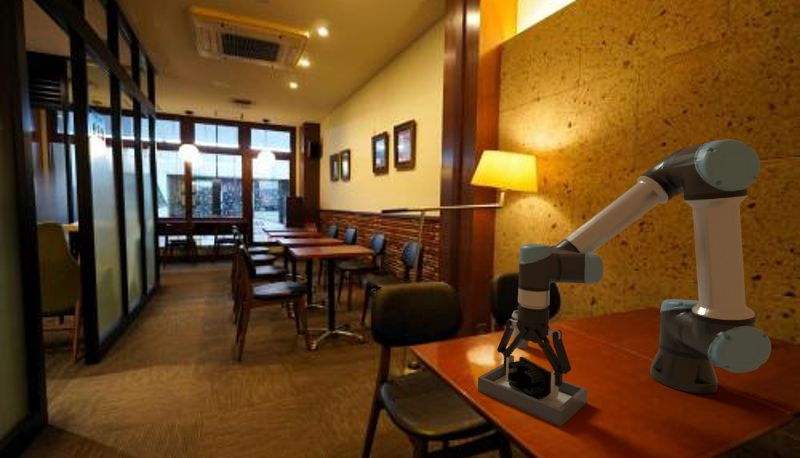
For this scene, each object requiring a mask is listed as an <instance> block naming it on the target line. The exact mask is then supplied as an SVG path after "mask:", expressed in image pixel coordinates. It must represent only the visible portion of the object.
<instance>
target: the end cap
mask: <svg viewBox="0 0 800 458" xmlns="http://www.w3.org/2000/svg"><path fill="white" fill-rule="evenodd" d="M518 359H519V360H516V361H514V362H511V363H509V364H508V369H512V368H517V371H516V372H512V373H508V379H509V381H511V382H509V385H510V386H511V387H513V388H514V389H516V390H517V391H519V392H521V393H523V394H525V395H528V396H530V397H533V398H535V399H542V398H545V397H547V396H548V395H549V394H550V393H551V373H552V372H553V371H551V370H548V369H546V368H545V367H543V366H542V365H540V364H537V363H535V362H533V361H532V360H530V359H528V358H526V357H524V356H519V358H518Z"/></svg>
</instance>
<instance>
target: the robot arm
mask: <svg viewBox="0 0 800 458" xmlns="http://www.w3.org/2000/svg"><path fill="white" fill-rule="evenodd" d="M760 171H761V161H760V157H759V155H758V154H757V153H756V151H755V150H754V149H753V147H751V146H749V145H748V144H746V143H745V142H743V141H741V140H736V139H720V140H719V139H718V140H712V141H708V142H705V143H704V142H703V143H701V144H696V145H692V146H687V147H683V148H679V149H677V150H675V151H672V152H671V153H670V154H668V155H666V156H665V157H663V158H662V159H661V160H659V161H658V162H656V163H655V164H654V165H653V166H651V167H650V168H649V169H647V171H645V172H644V173H643V174H641V175H640V176H638V178H637V180H636V184H634V185H632V187H631V188H629V189H628V190H626V192H624V193H622V194H621V195H620V196H619V197H617V198H616V199H615V200H613V201H612V202H611V203H610V204H608V205H607V206H605V207H604V208H603V209H602V210H600V211H599V212H597V214H595V215H594V216H592V217H591V218H590V219H588V220H587V221H586V222H585V223H584V224H582V225H581V226H580V227H579V228H577V229H575V230H574V231H573V232H572V233H570V234H569V235H567V237H565V238H563V240H561V241H560V242H558V243H556V244H555V245H549V244H544V243H543V244H542V243H526V244H525V243H524V244H523V245H521V246H520V248H519V257H518V293H517V294H518V295H517V302H518V305H517V310H518V321H515V319H513V317H511V318H510V319H507V320H506V321H505V329H504V332H503V334H502V337H501V338H500V342H499V344H498V345H497V348H496V350H497V352H498V353H501V354H502V355H503V364H504V367H505V368H506V382H510V381H509V379H508V373H512V372H514V368H512V369H508V364H509V363H511V362H515V355H513V352H514V351H515V350H516V349H518V348H517V347H518V345H519V344H520V343H521V342H522V341H523V339H525V340H526V341H528V342H531V343H533V344H537V345H538V346H539V348H541V350H542V352H543V354H544V355H545V357H546V359H547V361H548V362H549V364H550V366H551V368H552V370H553V371H551V372H552V373H551V396H550V399H552V400H554V399H555V398H557V397H558V389H559V387H560V386H561V385H562V381H564V380H563V377H564V375H567V374H569V373H570V372H571V371H572V367H571V363H570V360H569V358H568V354H567V351H566V349H565V345H564V343H563V339H562V338H563V336H562V335H563V333H562V330H560V329H557V330H555V329H551V328H550V325H549V322H550V307H549V306H550V294H551V293H550V290H551V283H555V284H556V283H559V284H560V283H561V284H584V285H587V284H588V285H589V284H597V283H599V282H600V281H601V280H602V279H603V276H604V271H605V270H604V262H603V260H602V257H601V256H600V255H599V254H597V253H594V252H596V251H597V250H598V249H599V248H600V247H603V246H604V245H605V244H606V243H607V242H609V241H610V240H611V239H613V238H614V237H615V236H617V235H618V234H619V233H621V232H623V230H625V229H626V228H628V227H629V226H630V225H632V224H633V223H634V222H636V221H637V220H638V219H640V218H641V217H643V216H644V215H645V214H646V213H648V212H649V211H650V210H652V209H653V208H654V207H656V206H657V205H658V204H659V205H664V204H666V203H668V202H669V201H670V200H672V199H673V198H675V197H678V196H680V195H683V202H684V203H686V205H688V206H690V207H691V210H692V223H693V233H694V234H693V235H694V249H695V262H696V277H697V279H696V280H697V281H696V282H697V291H698V292H697V293H698V300H693V299H677V298H673V299H672V298H671V299H670V298H669V299H665V300H662V303H661V306H660V311H659V313H660V316H659V317H660V322H659V340H658V341H659V345H658V350H657V352H656V353H655V356H654V358H653V360H652V363H651V365H650V372H649V373H650V376H651V377H652V379H654V380H655V381H657V382H659V383H660V384H662V385H664V386H666V387H669V388H672V389H675V390H679V391H682V392H687V393H692V394H698V395H699V394H701V395H707V394H714V393H716V392H717V391H718V388H719V387H718V386H719V380H718V377H717V373H716V372H715V371H716V370H715V368H714V366H715V367H718V368H720V369H721V368H722V369H723V370H725V371H728V372H731V373H734V374H735V373H737V374H743V373H749V372H752V371H755V370H757V369H760V367H761V366H762V365H763V364H765V363H766V362H767V361H768V359H769V357H770V355H771V351H772V342H771V340H770V338H769V336H768V335H767V334H766V333H764V331H763V330H762V329H760V328H757V323H756V322H757V321H756V318H757V317H756V312H755V311H754V310H752V309H751V308H750V307H748V306H747V304H746V303H747V301H746V288H745V274H744V273H745V271H744V269H745V268H744V257H743V256H744V255H743V253H744V252H743V242H742V241H743V240H742V225H741V207H740V204H741V203H742V202H743V201H744V200H746V199H747V198H748V197H749V194H748V193H749V191H748V187H750V186H751V185H753V183H754V182H755V180H756V179H757V178H758V177H759V175H760ZM516 326H517V328H518V330H519V332H520V333H519V334H518V335H517V336H516V338H515V339H514V338H513V341H512V342H511V343H510V344H509V341H510V340H511V337H512V336H513V331H514V328H516ZM548 336H550V339H551V340H552V344H553V347H552V345H551V342H550V340H549V338H548ZM508 344H509V345H508ZM553 348H554V349H553Z"/></svg>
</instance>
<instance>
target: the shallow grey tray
mask: <svg viewBox="0 0 800 458" xmlns="http://www.w3.org/2000/svg"><path fill="white" fill-rule="evenodd" d="M516 371H517V368H514V372H516ZM510 382H511V381H510ZM477 392H480V393H482V394H485V395H487V396H489V397H492V398H494V399H496V400H498V401H500V402H502V403H505V404H507V405H509V406H511V407H512V406H513V407H514V408H516V409H519V410H521V411H523V412H526V413H528V414H530V415H532V416H534V417H537V418H539V419H541V420H544V421H546V422H549V423H550V424H553V425H555V426H558V427H559V428H561V427H563V426H564V424H566V422H568V421H569V420H570V419H572V417H573V416H574V415H575V414H576V413H577V412H579V410H580V409H582V408H583V407H584V406H585V405H586V404H587V400H588V399H587V398H588V395H587V394H588V389H587V388H585V387H583V386H580V385H578V384H574V383H572V382H568V381H566V380H563V381H562V385H561V386H560V387H559V389H558V397H557V398H555V399H554V400H552V399H550V396H551V393H550V394H549V395H548V396H547V397H545V398H542V399H535V398H533V397H530V396H528V395H525V394H523V393H521V392H519V391H517V390H516V389H514V388H513V387H511V386H510V385H509V382H506V368H505V367H504V363H502V364H500V365H499V366H497V367H495V368H493V369H491V370H489V371H488V372H486V373H484V374H482V375H480V376H478V377H477Z"/></svg>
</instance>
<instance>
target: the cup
mask: <svg viewBox="0 0 800 458" xmlns="http://www.w3.org/2000/svg"><path fill="white" fill-rule="evenodd" d="M511 318H513V319H515V321H518V309H517V310H516V309H515V310H513V312H512V313H511ZM519 333H520V332H519V330H518V328H517V326H516V328H514V331H513V333H512V336H513V340H514V339H515V338H516V336H517V335H518V334H519ZM528 348H529V341H526V340H525V339H523V341H522V342H521V343H520V344H519V345H518V347H517V348H516V349H520V350H521V349H523V350H525V349H528Z"/></svg>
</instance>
